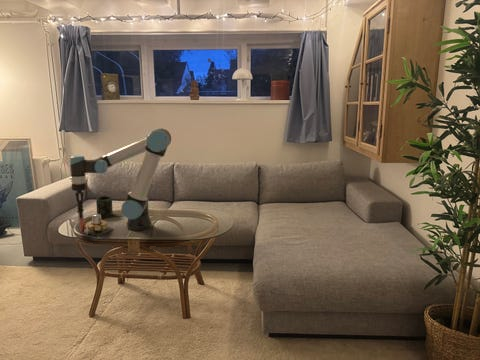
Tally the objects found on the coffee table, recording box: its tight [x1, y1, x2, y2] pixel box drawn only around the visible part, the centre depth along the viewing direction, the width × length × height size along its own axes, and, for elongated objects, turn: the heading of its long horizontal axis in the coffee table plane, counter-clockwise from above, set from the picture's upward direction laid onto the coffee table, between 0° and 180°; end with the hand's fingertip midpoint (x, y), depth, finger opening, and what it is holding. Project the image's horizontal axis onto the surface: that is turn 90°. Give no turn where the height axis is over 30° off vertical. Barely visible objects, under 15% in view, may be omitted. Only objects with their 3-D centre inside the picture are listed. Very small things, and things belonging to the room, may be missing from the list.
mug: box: [95, 195, 114, 218], centre depth 253 cm, size 11×15×12 cm
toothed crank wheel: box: [78, 217, 109, 234], centre depth 221 cm, size 16×12×8 cm
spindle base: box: [83, 213, 114, 237], centre depth 221 cm, size 13×15×10 cm
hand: (81, 222), depth 217 cm, fingers closed
